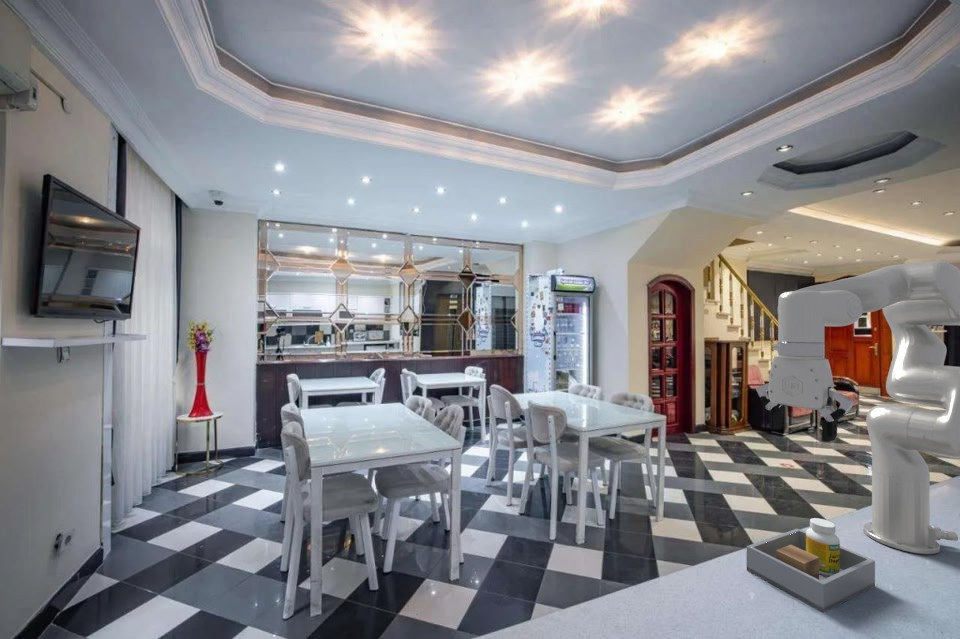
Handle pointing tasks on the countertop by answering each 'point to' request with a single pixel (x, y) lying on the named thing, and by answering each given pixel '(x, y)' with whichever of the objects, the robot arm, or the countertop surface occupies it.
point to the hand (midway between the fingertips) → (800, 434)
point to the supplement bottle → (824, 545)
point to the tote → (816, 593)
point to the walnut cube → (799, 560)
